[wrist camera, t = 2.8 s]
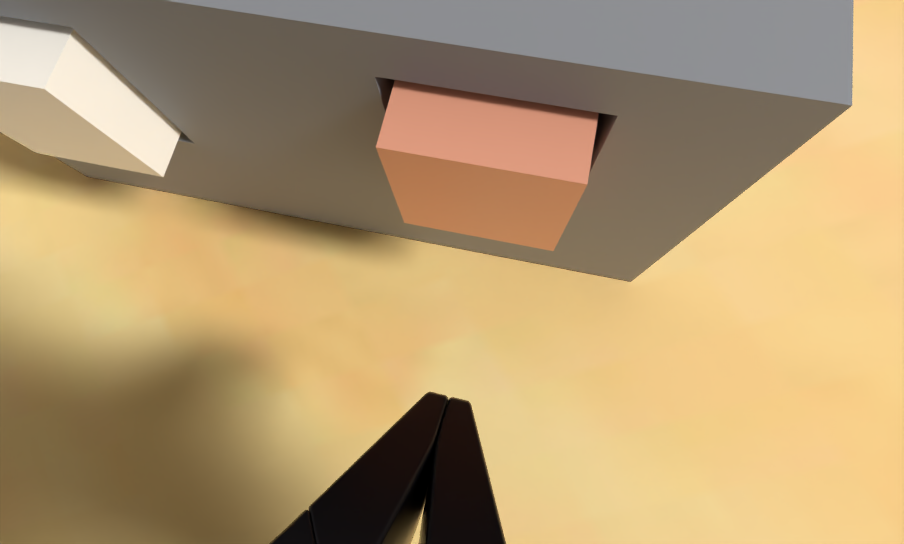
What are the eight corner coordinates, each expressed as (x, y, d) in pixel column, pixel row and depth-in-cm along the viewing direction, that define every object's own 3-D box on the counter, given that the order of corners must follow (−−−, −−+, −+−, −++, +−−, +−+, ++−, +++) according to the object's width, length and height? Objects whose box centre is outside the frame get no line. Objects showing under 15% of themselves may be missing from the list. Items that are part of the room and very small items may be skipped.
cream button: (163, 177, 14) (44, 88, 10) (35, 153, 14) (-127, 58, 10) (185, 121, 14) (79, 16, 10) (61, 99, 15) (-85, -11, 11)
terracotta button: (553, 251, 13) (587, 184, 9) (404, 222, 13) (375, 147, 9) (564, 188, 13) (600, 99, 9) (419, 163, 14) (398, 67, 10)
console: (630, 281, 18) (851, 105, 8) (87, 176, 20) (-338, -77, 10) (646, 160, 19) (855, -138, 9) (132, 73, 21) (-200, -253, 11)
